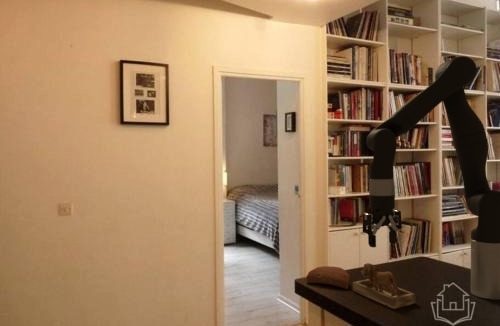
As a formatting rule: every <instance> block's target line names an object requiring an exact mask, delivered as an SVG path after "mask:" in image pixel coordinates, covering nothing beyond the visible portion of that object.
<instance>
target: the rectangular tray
mask: <svg viewBox="0 0 500 326" xmlns="http://www.w3.org/2000/svg"><path fill="white" fill-rule="evenodd" d="M382 286H383V291H379V289H380V286H379V283H377V287H378V291H377V290H375V287H374V285H373V283H372V282H370V280H369V279H367V278H366V279H363V280H357V281H352V292H355V293H357V294H360V295H361V296H363V297H366V298H367V299H368V298H369V299H370V300H373V301H374V302H377V303H379V304H382V305H383V306H386V305H387V306H386V307H388V308H390V309H393V310H395V309H398V308H402V307H407V306H411V305H414V304H416V293H414V292H411V291H408V290H406V289H404V288H400V287H398V289H399V290H400V291H402V292H404V294H401V293H400V292H399V291H398V290H397V289H396V290H397V293H396V295H395V296H391V294H392V291H391V290H390V289H389V288H388V287H387V285H386V284H382ZM391 286H392V287H393V285H392V284H391Z"/></svg>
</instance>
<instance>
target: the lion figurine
mask: <svg viewBox="0 0 500 326" xmlns="http://www.w3.org/2000/svg"><path fill="white" fill-rule="evenodd" d="M360 273H361V275H362V276H363V277H365V278H366V279H369V280H370V282H372V283H373V285H374V287H375V290H377V291H378V287H377V283H379V286H380V289H379V291H383V286H382V284H386V285H387V287H388V288H389V289H390V290H391V291H392V294H391V296H395V295H396V293H397V290H398V291H399V292H400V293H401V294H404V292H402V291H400V290H399V289H398V288H399V287H398V286H397V283H396V278H395V275H394V273H392V272H391V271H384V272H383V271H382V270H381V269H380V268H379V267H377V266H376V265H375V264H372V263H369V262H366V263H365V264H364V265H363V267H362V270H361V271H360ZM391 285H393V287H392V286H391ZM396 289H397V290H396Z"/></svg>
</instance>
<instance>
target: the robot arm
mask: <svg viewBox="0 0 500 326" xmlns="http://www.w3.org/2000/svg"><path fill="white" fill-rule="evenodd" d="M477 69H478V68H477V64H476V62H475V61H474V60H473V59H472V58H470V57H468V56H463V55H462V56H457V57H456V56H455V57H453V58H451V59H449V60H447V61H444V62H442V63H441V64H440V65H438V67H436V70H435V74H434V81H433V82H432V83H431V84H430V85H429V86H428V87H426V88H424V89H423V90H422V91H420V92H419V93H418V94H416V95H415V96H413V97H412V98H410V99H409V100H408V101H406V102H405V103H404V104H403V105H402V106H400V107H399V108H398V109H397V110H396V111H395V112H394V113H393V114H392V115H391V116H390V117H389V118H387V119H386V120H385V121H383V122H382V123H380V124H379V125H378V126H376V127H374V128H373V129H372V130H371V131H370V133H369V134H368V135H367V137H366V146H367V148H368V149H369V150H371V151H373V159H372V160H371V162H370V164H369V184H368V188H369V191H368V193H369V194H368V195H369V197H368V198H369V199H368V200H369V201H368V202H369V203H368V204H369V208H370V209H371V212H370V213H363V214H362V233H364V234H367V239H368V240H367V242H368V246H369V247H370V248H373V249H374V248H376V247H377V235H376V234H377V232H378V231H379V230H380V229H381V228H382V227H387V229H388V230H389V231H388V243H389V244H391V245H395V244H396V245H397V240H398V239H397V238H398V237H397V235H398V234H397V232H399V230H402V229H403V226H402V225H403V223H402V211H401V210H398V209H396V208H395V207H396V198H395V197H396V193H395V191H396V190H395V187H396V186H395V179H394V178H395V177H394V173H395V172H394V161H395V158H396V152H397V138H399V137H400V136H401V135H405V134H407V133H408V132H409V131H410V130H412V129H413V128H414V127H415V126H416V125H417V124H418V123H420V122H421V121H422V120H423V119H424V118H425V117H426V116H427V115H428V114H429V113H430V112H432V111H433V110H434V109H435V108H436V107H437V106H438V105H440V104H441V103H443V105H444V109H445V112H446V113H445V114H446V117H447V121H448V126H449V129H450V132H451V138H452V143H453V146H454V150H455V153H456V157H457V161H458V165H459V169H460V172H461V178H462V183H463V190H464V199H465V204H466V207H467V209H468V211H469V212H470V213H471V214H472V215H474V216H475V217H477V226H476V227H475V228H473V229H471V230H470V293H471V294H472V295H474V296H475V297H478V298H482V299H487V300H494V301H495V300H497V301H498V300H500V191H499V190H496V189H491V188H490V185H489V182H488V181H489V180H488V178H487V172H486V165H487V162H488V161H487V160H488V155H489V141H488V137H487V133H486V129H485V126H484V124H483V122H482V121H481V119H480V117H479V116H478V115H477V114H476V112H475V111H474V110H473V108H472V107H471V106H470V104H469V102H468V99H467V96H466V92H465V86H467V85H469V84H470V83H471V82H473V81H474V79H475V78H476V75H477V73H478V72H477V71H478V70H477Z"/></svg>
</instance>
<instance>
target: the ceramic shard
mask: <svg viewBox="0 0 500 326" xmlns="http://www.w3.org/2000/svg"><path fill="white" fill-rule="evenodd" d="M350 278H351V277H350V275H349V273H348V272H347V270H346V269H344V268H342V267H339V266H330V265H329V266H319V267H315V268H314V269H312V270H310V271H308V273H307V274H306V278H305V279H306V280H305V281H306V284H323V285H331V286H335V287H338V288H341V289H344V290H348V289H349V283H350Z"/></svg>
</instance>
